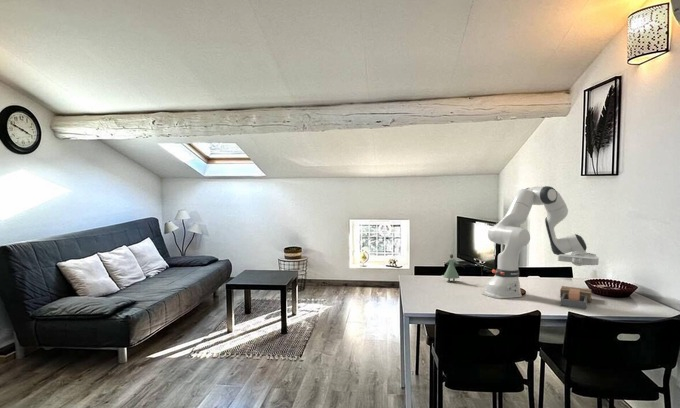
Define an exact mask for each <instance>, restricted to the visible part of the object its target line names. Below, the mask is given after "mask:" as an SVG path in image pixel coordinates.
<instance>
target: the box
mask: <svg viewBox="0 0 680 408" xmlns="http://www.w3.org/2000/svg"><path fill="white" fill-rule="evenodd" d="M587 305H588V302H587V296H585V295H580V301H576V300H569V293H563V295H562V297H561V299H560V307H561V306H562V307H568V308H574V309H581V310H587Z"/></svg>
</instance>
